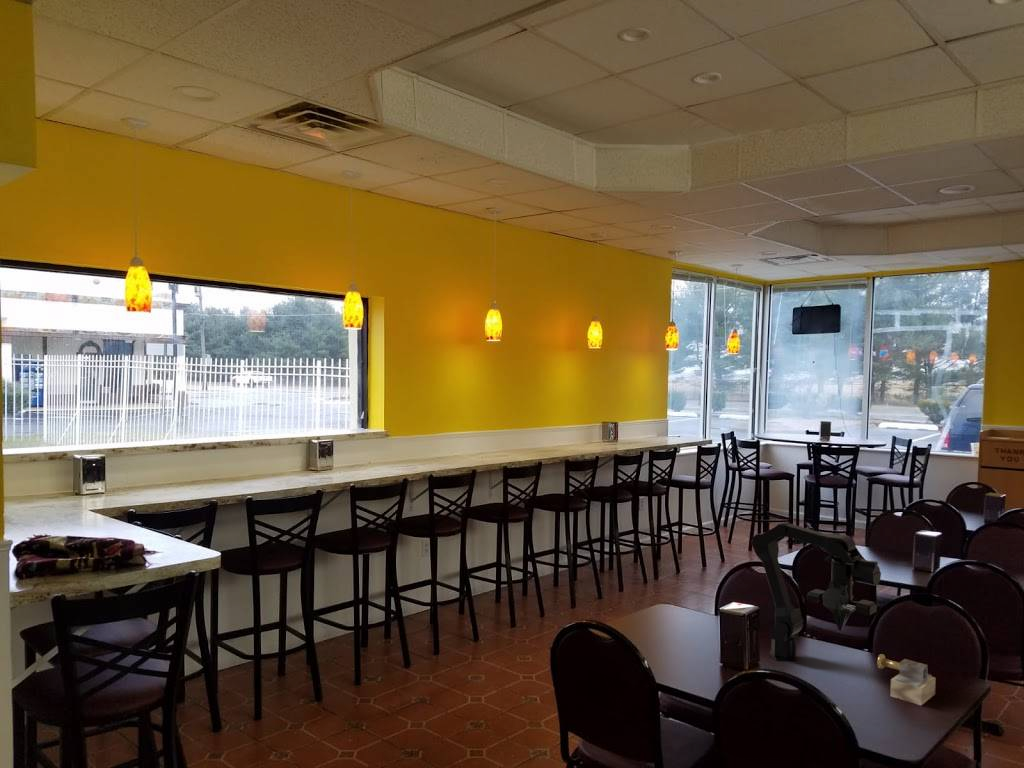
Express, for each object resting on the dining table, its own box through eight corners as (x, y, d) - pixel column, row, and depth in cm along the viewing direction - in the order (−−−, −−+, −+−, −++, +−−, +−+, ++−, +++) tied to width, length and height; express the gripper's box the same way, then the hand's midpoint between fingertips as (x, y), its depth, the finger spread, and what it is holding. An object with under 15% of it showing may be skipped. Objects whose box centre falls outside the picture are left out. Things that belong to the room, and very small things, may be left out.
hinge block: (890, 696, 213) (891, 664, 213) (905, 685, 221) (905, 654, 221) (921, 705, 208) (922, 673, 207) (935, 694, 215) (936, 662, 215)
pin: (876, 669, 219) (877, 655, 219) (882, 666, 222) (882, 652, 222) (910, 679, 213) (911, 665, 213) (915, 675, 216) (916, 661, 216)
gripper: (799, 576, 230) (798, 628, 230) (862, 590, 216) (861, 645, 217) (815, 570, 238) (814, 620, 238) (878, 583, 224) (876, 636, 224)
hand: (840, 630), depth 229 cm, fingers closed
